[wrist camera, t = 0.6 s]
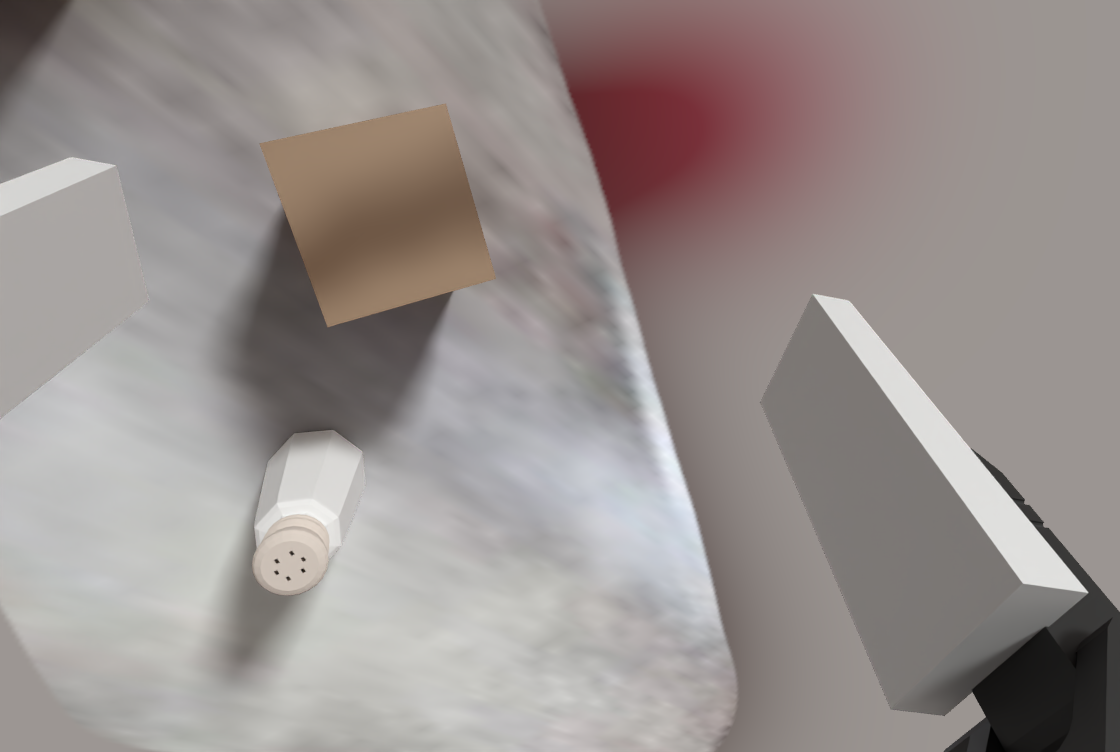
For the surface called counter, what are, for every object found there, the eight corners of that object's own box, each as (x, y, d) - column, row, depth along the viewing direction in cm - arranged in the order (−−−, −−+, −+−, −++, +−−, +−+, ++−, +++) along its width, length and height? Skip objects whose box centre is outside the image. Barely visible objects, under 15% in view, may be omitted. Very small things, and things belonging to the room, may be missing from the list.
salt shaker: (339, 410, 33) (321, 476, 23) (384, 489, 35) (385, 584, 24) (246, 455, 32) (182, 545, 22) (297, 534, 34) (259, 653, 23)
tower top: (281, 165, 26) (259, 143, 21) (434, 130, 28) (445, 103, 23) (336, 316, 28) (327, 327, 23) (477, 276, 29) (496, 278, 25)
